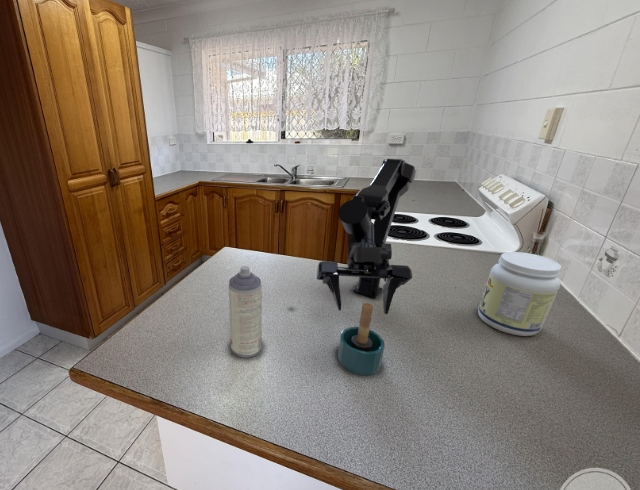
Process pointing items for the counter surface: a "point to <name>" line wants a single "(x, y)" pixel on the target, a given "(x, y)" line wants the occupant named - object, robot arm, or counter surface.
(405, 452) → the counter surface
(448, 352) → the counter surface
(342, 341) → the teal cup
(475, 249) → the counter surface
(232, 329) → the aerosol can
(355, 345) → the brush
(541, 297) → the supplement tub
